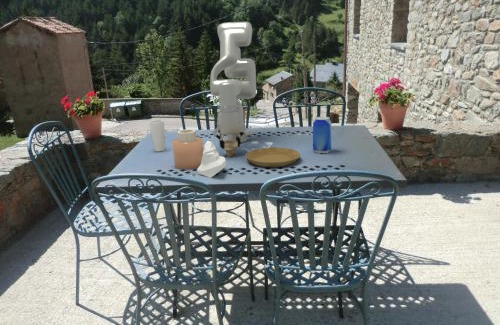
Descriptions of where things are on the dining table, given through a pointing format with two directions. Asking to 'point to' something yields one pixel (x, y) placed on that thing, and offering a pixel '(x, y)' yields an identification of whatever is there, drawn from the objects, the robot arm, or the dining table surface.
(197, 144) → the orange jar
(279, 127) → the dining table surface
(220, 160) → the soft serve ice cream
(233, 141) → the stopper
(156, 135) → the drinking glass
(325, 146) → the beer can
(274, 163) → the plant saucer
